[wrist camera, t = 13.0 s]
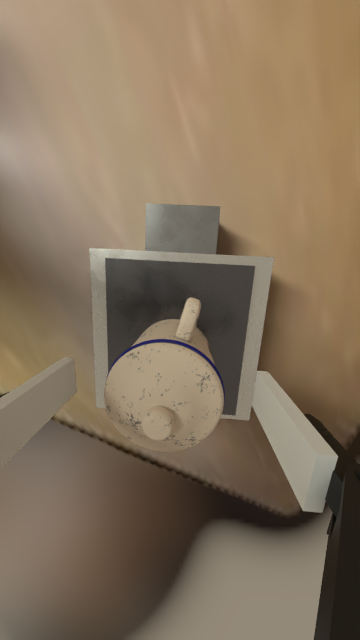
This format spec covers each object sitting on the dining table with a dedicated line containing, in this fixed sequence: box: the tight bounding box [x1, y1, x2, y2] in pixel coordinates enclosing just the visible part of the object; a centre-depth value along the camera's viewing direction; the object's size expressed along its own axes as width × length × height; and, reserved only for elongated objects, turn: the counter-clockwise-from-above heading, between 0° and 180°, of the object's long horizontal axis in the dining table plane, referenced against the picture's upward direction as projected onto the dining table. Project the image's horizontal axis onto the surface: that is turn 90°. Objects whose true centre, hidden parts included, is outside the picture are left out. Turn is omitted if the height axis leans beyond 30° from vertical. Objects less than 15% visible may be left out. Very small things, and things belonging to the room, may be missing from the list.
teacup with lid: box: [104, 298, 225, 452], centre depth 17 cm, size 12×9×12 cm
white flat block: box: [89, 204, 274, 420], centre depth 25 cm, size 20×25×7 cm
